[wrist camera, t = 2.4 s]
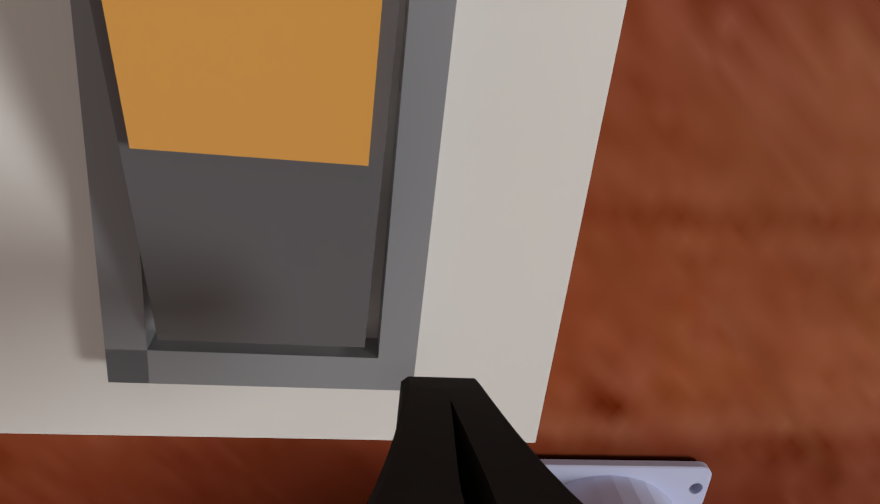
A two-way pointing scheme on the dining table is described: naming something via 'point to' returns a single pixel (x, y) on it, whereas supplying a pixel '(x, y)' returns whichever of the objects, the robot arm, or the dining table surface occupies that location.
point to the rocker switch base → (396, 245)
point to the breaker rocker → (252, 160)
